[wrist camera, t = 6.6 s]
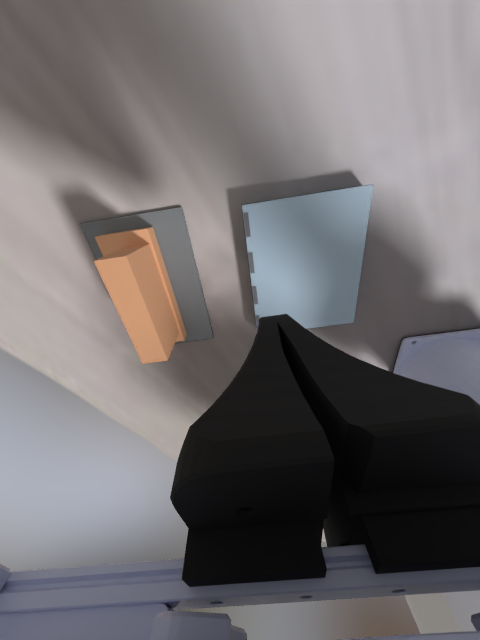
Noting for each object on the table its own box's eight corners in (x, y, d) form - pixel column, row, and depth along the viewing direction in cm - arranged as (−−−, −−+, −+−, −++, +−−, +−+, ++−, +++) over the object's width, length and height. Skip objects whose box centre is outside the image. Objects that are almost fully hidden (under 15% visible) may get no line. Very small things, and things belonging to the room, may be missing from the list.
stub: (152, 226, 17) (122, 237, 12) (186, 333, 22) (174, 369, 17) (103, 234, 17) (55, 248, 12) (148, 338, 22) (125, 375, 17)
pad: (181, 206, 16) (181, 207, 16) (213, 337, 22) (213, 338, 22) (81, 223, 17) (79, 223, 16) (138, 346, 23) (137, 347, 22)
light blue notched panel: (362, 185, 16) (374, 184, 15) (346, 315, 21) (354, 323, 20) (241, 204, 16) (242, 205, 15) (256, 327, 22) (257, 335, 20)
